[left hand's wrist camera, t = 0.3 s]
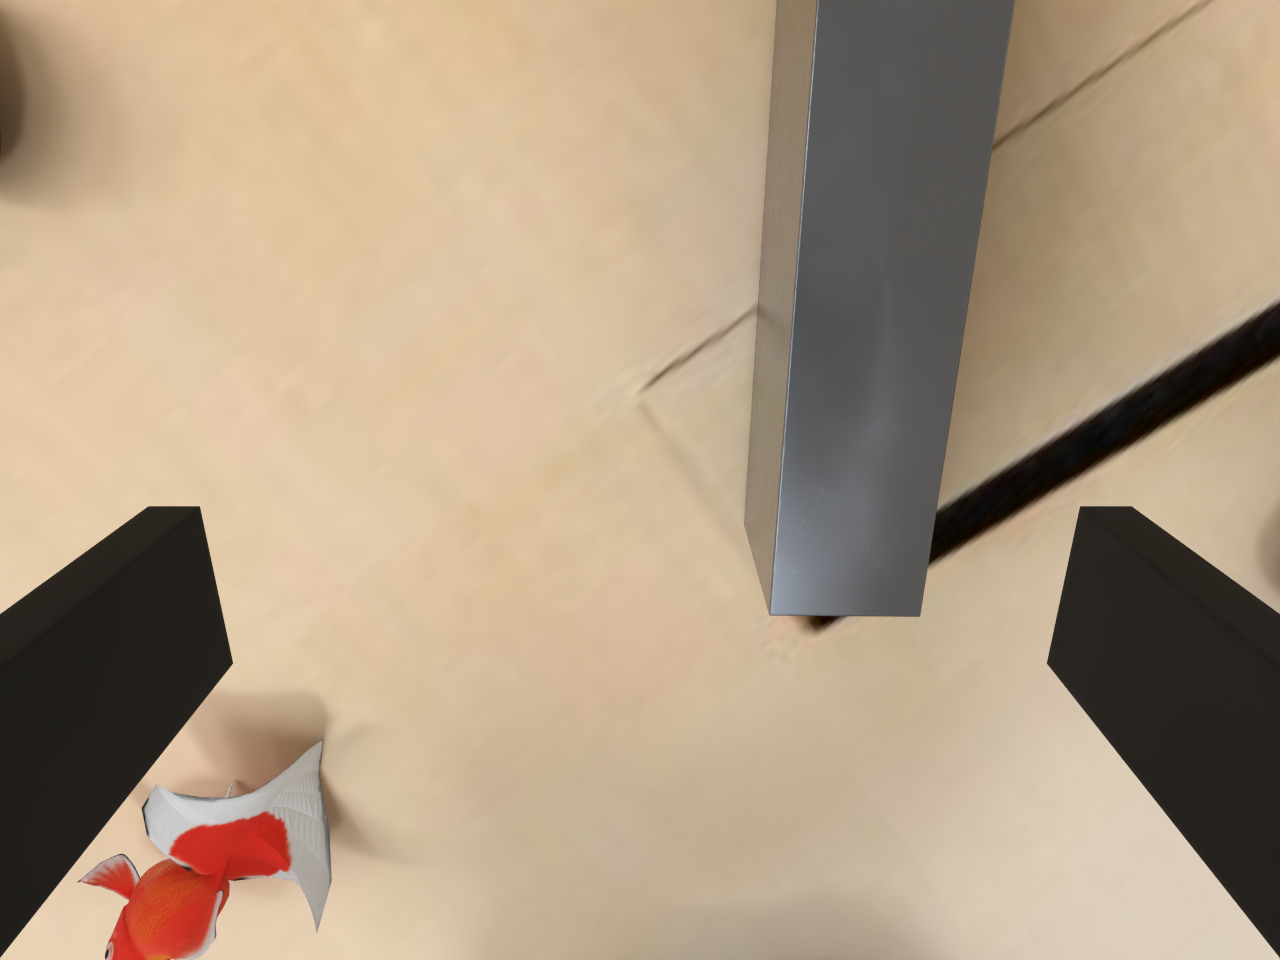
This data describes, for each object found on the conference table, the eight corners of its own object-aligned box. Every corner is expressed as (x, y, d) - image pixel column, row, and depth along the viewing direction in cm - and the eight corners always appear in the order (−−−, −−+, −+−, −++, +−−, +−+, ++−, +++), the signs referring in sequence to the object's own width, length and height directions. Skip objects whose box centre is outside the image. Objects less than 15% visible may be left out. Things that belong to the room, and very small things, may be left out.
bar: (866, 527, 41) (920, 617, 33) (744, 525, 41) (769, 616, 33) (944, -117, 31) (1047, -208, 23) (784, -119, 31) (833, -210, 23)
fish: (-12, 844, 42) (-28, 1019, 34) (257, 644, 45) (297, 763, 38) (144, 923, 49) (159, 1084, 41) (369, 743, 52) (422, 861, 45)
